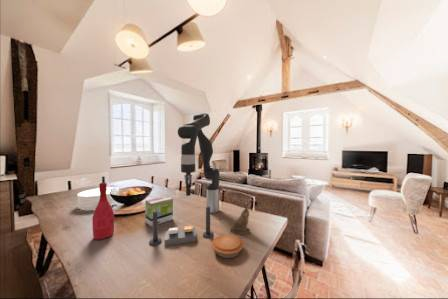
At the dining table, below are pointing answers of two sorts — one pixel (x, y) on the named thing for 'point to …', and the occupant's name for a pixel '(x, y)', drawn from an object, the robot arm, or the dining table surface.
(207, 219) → the dark grey peg stand
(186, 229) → the orange slab
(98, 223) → the wine bottle
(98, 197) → the plate stack
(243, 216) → the worn brown figurine
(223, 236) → the pie
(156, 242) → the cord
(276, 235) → the dining table surface
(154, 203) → the tea box
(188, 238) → the large grey rectangular block
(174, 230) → the white slab
